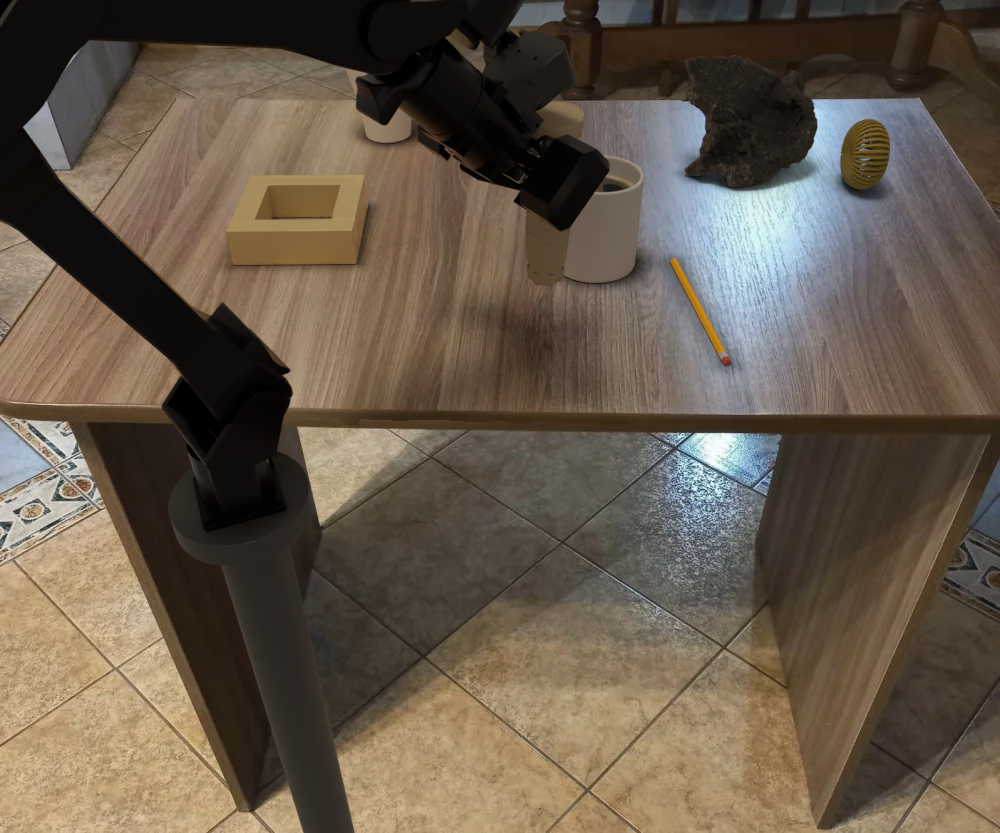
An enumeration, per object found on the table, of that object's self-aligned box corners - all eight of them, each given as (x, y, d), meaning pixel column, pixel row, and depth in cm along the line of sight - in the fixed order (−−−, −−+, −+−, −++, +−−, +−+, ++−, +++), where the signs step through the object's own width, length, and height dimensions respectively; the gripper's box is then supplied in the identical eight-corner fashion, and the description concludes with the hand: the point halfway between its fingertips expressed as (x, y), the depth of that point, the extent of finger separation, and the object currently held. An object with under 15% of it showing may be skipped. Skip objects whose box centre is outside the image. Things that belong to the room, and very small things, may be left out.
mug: (624, 289, 91) (634, 199, 85) (534, 274, 94) (537, 184, 87) (646, 239, 99) (656, 152, 93) (562, 226, 101) (566, 140, 95)
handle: (515, 294, 80) (520, 126, 70) (521, 261, 85) (527, 100, 76) (569, 298, 79) (582, 129, 70) (573, 265, 84) (585, 103, 75)
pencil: (723, 367, 82) (724, 361, 81) (669, 263, 95) (670, 258, 95) (731, 366, 82) (732, 360, 81) (676, 263, 96) (677, 257, 95)
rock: (783, 190, 120) (797, 69, 116) (819, 191, 107) (836, 56, 104) (658, 185, 119) (667, 63, 115) (680, 185, 107) (691, 49, 103)
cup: (443, 130, 122) (439, 26, 113) (392, 157, 115) (383, 49, 106) (385, 112, 126) (376, 11, 118) (332, 137, 120) (319, 32, 111)
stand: (356, 264, 95) (352, 230, 93) (232, 265, 95) (225, 231, 92) (368, 206, 105) (364, 174, 102) (256, 207, 105) (250, 175, 102)
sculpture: (882, 201, 106) (902, 135, 101) (848, 201, 106) (866, 135, 101) (862, 171, 112) (880, 108, 107) (830, 171, 112) (846, 108, 107)
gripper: (600, 37, 59) (694, 157, 71) (442, -25, 70) (546, 87, 83) (503, 181, 60) (611, 274, 72) (362, 97, 72) (476, 189, 84)
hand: (559, 199), depth 78 cm, fingers closed on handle, 3 cm apart
